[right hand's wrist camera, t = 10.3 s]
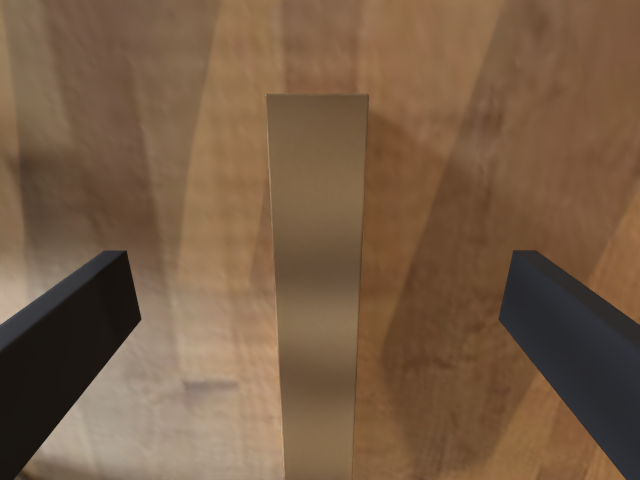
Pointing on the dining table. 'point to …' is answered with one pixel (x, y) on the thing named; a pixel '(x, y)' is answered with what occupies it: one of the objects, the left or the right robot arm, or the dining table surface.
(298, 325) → the plank
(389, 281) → the dining table surface
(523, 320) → the right robot arm
